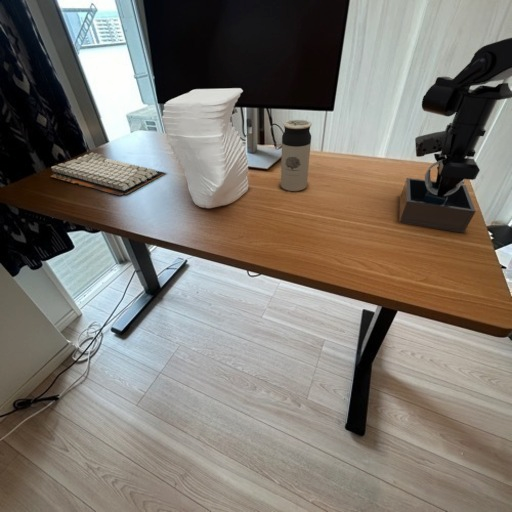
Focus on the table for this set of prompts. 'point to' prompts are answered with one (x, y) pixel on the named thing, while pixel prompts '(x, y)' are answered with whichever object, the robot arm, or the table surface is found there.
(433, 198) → the watch
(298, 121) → the travel mug
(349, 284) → the table surface
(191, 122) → the paper stack
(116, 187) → the mechanical keyboard
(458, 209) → the basin
